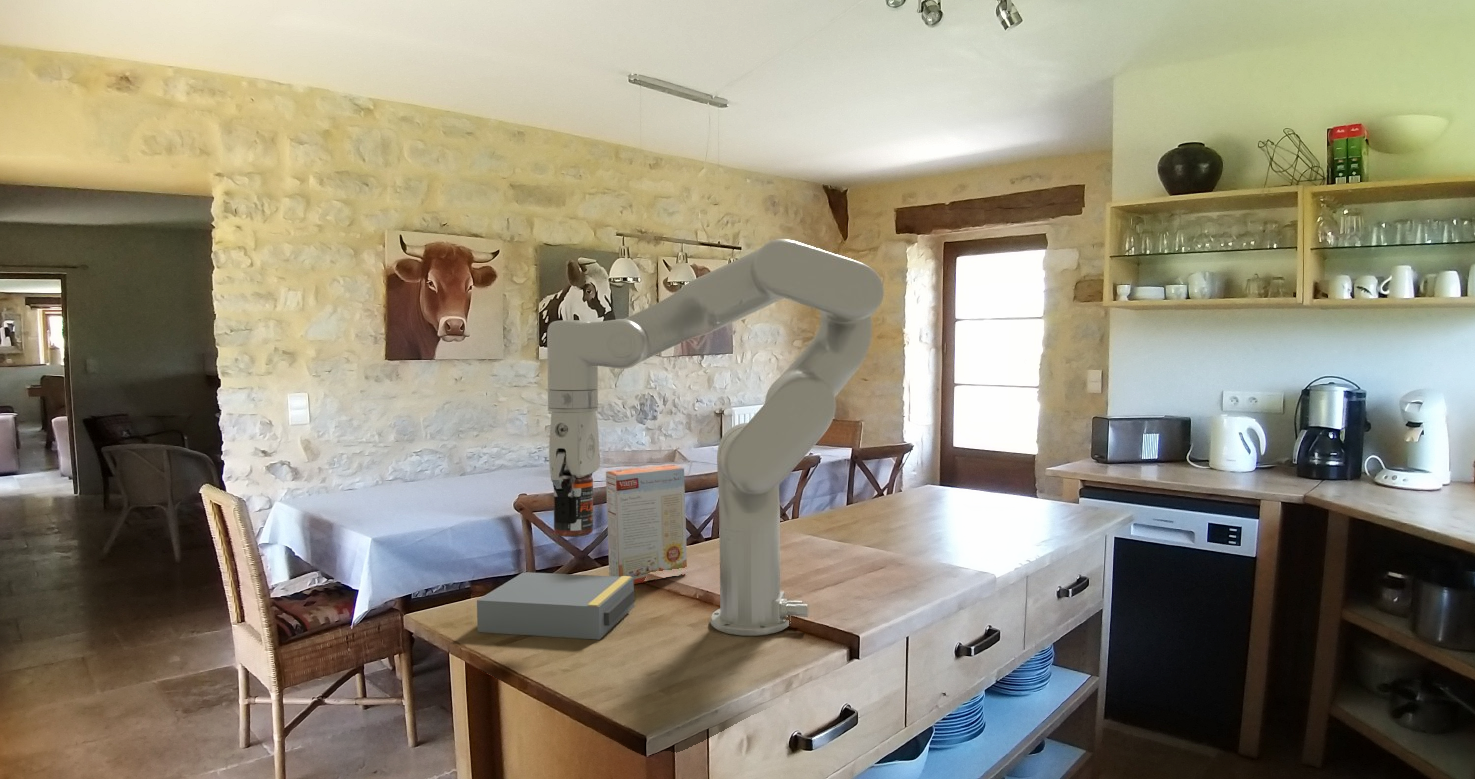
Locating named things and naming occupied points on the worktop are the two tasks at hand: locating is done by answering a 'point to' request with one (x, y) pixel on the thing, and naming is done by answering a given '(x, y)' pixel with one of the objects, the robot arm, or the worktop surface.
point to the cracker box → (646, 520)
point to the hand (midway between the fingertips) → (573, 517)
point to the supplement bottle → (579, 510)
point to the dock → (556, 605)
